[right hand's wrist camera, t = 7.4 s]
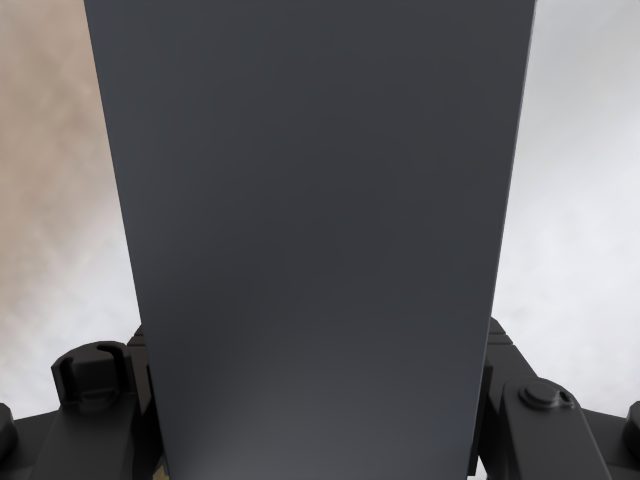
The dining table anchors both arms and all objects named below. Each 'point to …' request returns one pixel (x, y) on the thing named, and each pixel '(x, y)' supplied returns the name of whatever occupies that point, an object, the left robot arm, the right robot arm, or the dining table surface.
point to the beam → (314, 223)
